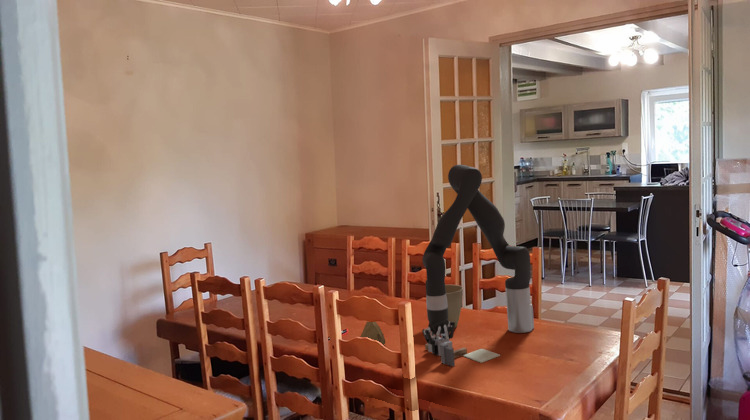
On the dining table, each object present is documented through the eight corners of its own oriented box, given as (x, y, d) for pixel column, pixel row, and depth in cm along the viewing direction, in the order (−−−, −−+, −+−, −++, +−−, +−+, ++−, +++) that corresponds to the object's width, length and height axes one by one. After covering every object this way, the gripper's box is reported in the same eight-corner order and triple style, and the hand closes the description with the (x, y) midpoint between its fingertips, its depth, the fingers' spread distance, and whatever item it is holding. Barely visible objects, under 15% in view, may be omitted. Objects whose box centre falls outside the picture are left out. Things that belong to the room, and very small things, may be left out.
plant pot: (440, 319, 245) (437, 283, 244) (472, 323, 237) (469, 285, 235) (423, 329, 233) (419, 292, 232) (455, 333, 225) (452, 294, 223)
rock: (393, 339, 218) (383, 329, 227) (380, 325, 215) (370, 315, 224) (373, 359, 217) (363, 348, 226) (359, 346, 213) (350, 335, 222)
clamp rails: (440, 344, 214) (440, 339, 214) (467, 353, 202) (466, 348, 202) (425, 349, 210) (424, 344, 210) (451, 359, 198) (450, 354, 198)
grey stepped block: (445, 361, 197) (444, 343, 196) (455, 365, 192) (454, 346, 192) (441, 363, 195) (439, 344, 195) (451, 367, 191) (449, 348, 190)
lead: (437, 349, 210) (435, 335, 209) (453, 355, 202) (451, 341, 202) (428, 351, 208) (427, 338, 207) (444, 358, 200) (443, 344, 200)
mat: (481, 349, 205) (481, 348, 205) (500, 355, 197) (499, 354, 197) (463, 356, 200) (463, 355, 200) (481, 362, 192) (481, 361, 192)
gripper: (428, 312, 196) (432, 360, 198) (459, 303, 204) (462, 350, 205) (415, 309, 202) (419, 355, 204) (445, 300, 210) (449, 345, 212)
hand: (440, 352), depth 205 cm, fingers closed on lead, 4 cm apart
